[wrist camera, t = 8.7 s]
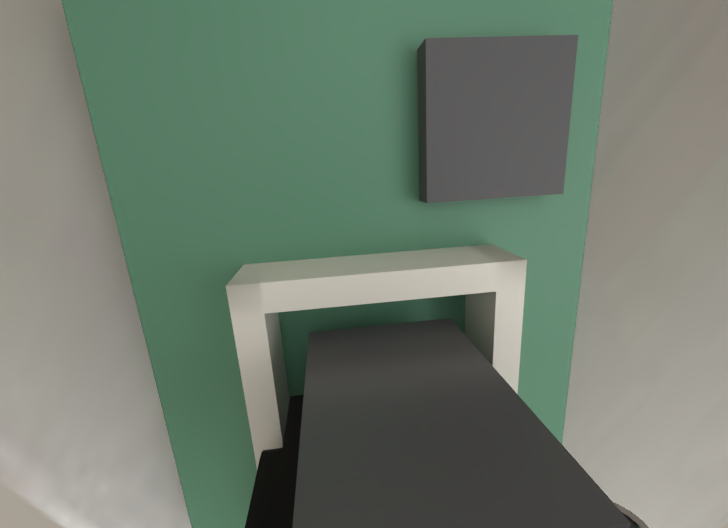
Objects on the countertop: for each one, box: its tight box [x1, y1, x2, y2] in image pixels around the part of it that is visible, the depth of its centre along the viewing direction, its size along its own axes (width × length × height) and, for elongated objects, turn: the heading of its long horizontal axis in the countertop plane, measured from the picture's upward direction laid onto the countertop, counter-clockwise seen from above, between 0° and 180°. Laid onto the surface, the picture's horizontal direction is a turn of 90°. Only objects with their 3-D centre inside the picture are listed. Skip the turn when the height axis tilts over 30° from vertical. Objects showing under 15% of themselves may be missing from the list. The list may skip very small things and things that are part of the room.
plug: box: [292, 318, 631, 528], centre depth 8 cm, size 7×4×6 cm, turn 3°
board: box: [62, 0, 613, 528], centre depth 11 cm, size 18×14×4 cm
